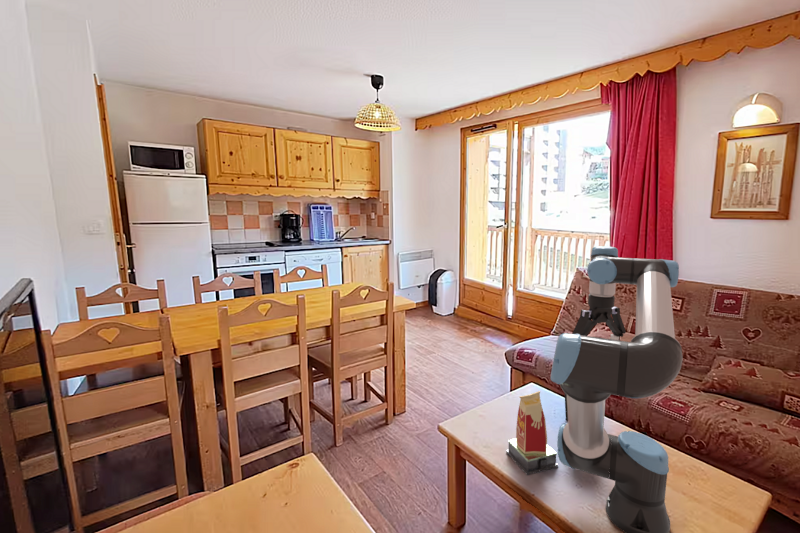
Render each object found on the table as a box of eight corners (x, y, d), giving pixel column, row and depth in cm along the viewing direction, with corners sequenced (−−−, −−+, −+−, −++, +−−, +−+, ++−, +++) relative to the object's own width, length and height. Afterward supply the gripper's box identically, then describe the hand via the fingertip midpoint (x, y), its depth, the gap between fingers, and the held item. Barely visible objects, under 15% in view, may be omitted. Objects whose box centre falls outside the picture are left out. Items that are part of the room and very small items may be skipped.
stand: (558, 467, 127) (559, 454, 126) (527, 475, 124) (528, 461, 123) (534, 446, 139) (535, 433, 138) (506, 452, 135) (506, 439, 134)
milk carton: (538, 437, 135) (541, 384, 132) (548, 454, 126) (551, 398, 123) (512, 437, 136) (514, 385, 132) (520, 454, 126) (522, 398, 123)
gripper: (621, 288, 130) (617, 348, 134) (561, 295, 123) (558, 357, 126) (641, 293, 123) (636, 355, 127) (578, 300, 116) (574, 366, 119)
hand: (597, 356), depth 126 cm, fingers open, 13 cm apart
